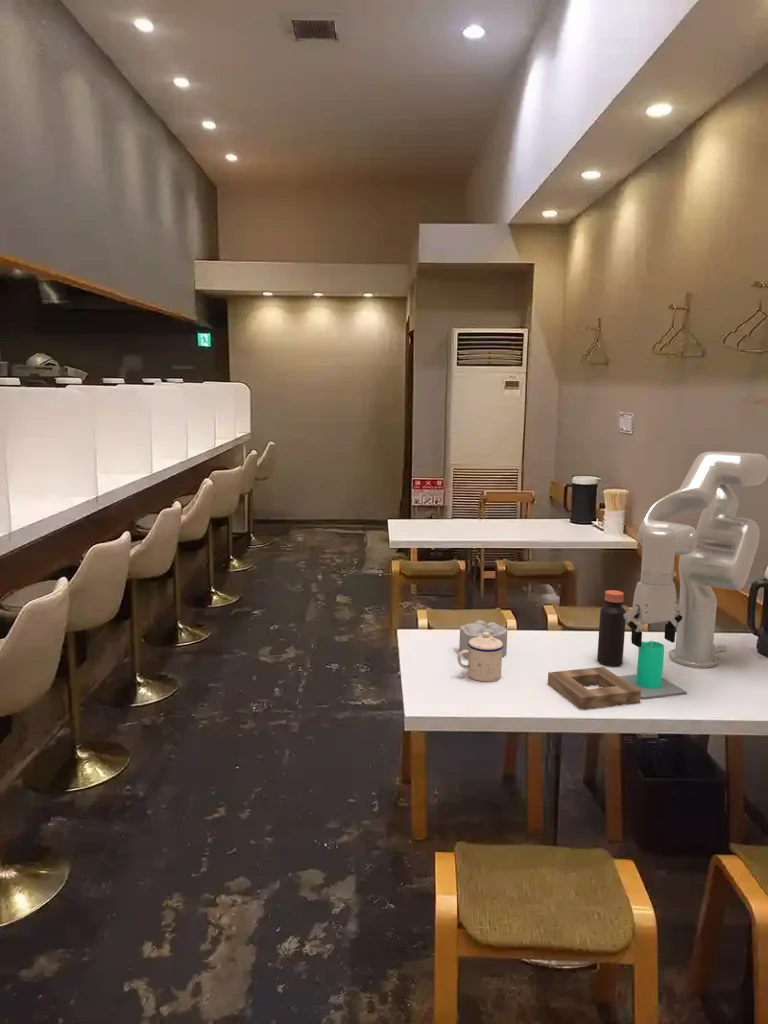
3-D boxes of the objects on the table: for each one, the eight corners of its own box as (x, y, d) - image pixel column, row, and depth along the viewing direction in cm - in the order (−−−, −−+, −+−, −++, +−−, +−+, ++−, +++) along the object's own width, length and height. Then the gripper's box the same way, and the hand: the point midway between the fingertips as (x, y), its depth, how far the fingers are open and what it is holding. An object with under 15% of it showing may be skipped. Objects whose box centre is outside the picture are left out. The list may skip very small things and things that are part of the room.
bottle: (610, 656, 205) (615, 588, 202) (627, 665, 199) (633, 594, 196) (591, 660, 202) (596, 590, 199) (608, 668, 196) (613, 597, 193)
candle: (661, 681, 186) (664, 636, 184) (661, 690, 181) (665, 644, 179) (636, 678, 188) (639, 633, 186) (635, 686, 183) (639, 641, 181)
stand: (602, 677, 190) (603, 666, 190) (640, 702, 175) (641, 690, 174) (547, 683, 186) (548, 672, 185) (581, 709, 171) (581, 697, 170)
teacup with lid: (494, 668, 196) (496, 626, 194) (507, 681, 187) (509, 637, 185) (452, 670, 193) (453, 628, 191) (462, 684, 184) (463, 640, 183)
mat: (653, 674, 193) (654, 672, 193) (686, 694, 180) (687, 691, 180) (610, 679, 189) (611, 677, 189) (641, 699, 177) (641, 697, 177)
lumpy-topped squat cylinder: (456, 648, 210) (457, 619, 209) (499, 646, 213) (500, 617, 211) (467, 661, 200) (468, 631, 199) (512, 659, 203) (513, 629, 201)
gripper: (676, 570, 186) (672, 634, 189) (617, 576, 181) (614, 641, 185) (696, 578, 179) (692, 644, 182) (635, 585, 174) (632, 652, 178)
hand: (652, 642), depth 184 cm, fingers open, 9 cm apart
